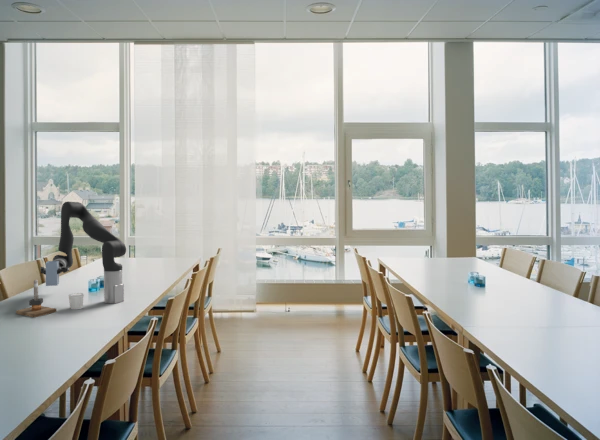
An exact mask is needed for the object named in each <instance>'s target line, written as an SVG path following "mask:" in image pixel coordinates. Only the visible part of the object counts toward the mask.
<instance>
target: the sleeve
mask: <svg viewBox="0 0 600 440" xmlns="http://www.w3.org/2000/svg"><path fill="white" fill-rule="evenodd" d="M45 268H46V275H45V287H49V286H53V287H54V286H58V285H59V284H60V274H57V270H58V269H59V261H53V260H47V261H46V262H45Z"/></svg>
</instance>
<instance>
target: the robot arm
mask: <svg viewBox="0 0 600 440" xmlns="http://www.w3.org/2000/svg"><path fill="white" fill-rule="evenodd" d="M60 210H61V211H60V238H59V243H58V249H57V250H58V251H59V252H61V253H64V254H65V255H62V254H61V255H60V254H56V255H54V256H53V258H52V261H59V269H58V270H57V274H59V275H60V274H62V273H64V274H65V273H67V272H69V271H70V268H72V266H73V264H74V261H73V260H74V258H73V246H74V245H73V244H74V235H73V231H72V229H71V227H70V219H71V218H72V219H74V218H77V219H79V220H80V221H81V223H82V230H83V232H84V233H85V234H86V235H87V236H89V238H91V239H92V240H95V241H97V242H100V243H102V246H101V259H102V260H101V261H102V266H103V267H102V268H103V298H104V300H103V302H104V303H105V304H118V303H122V302H124V301H125V288H124V287H125V284H124V283H123V264H121V263H118V262H115V258H121V257H123V256H125V254H126V252H127V248H126V244H125V243H124V242H123V241H122V240H121V239H119V238H118V237H117V236H115V235H114V234H113V233H112V232H111V231H109V230H108V229H107V228H106V227H105V226H104V225H103V223H101V222H100V221H99V220H98V219H96V218H95V217H94V216H93V215H92V214H91V212H90V211H89V210H88V209H87V207H86V206H85V205H84V204H83V203H81V202H78V201H65V202H63V204H62V205H61V209H60ZM40 274H43V275H45V276H46V267H44V266H40Z"/></svg>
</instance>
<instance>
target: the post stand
mask: <svg viewBox="0 0 600 440" xmlns="http://www.w3.org/2000/svg"><path fill="white" fill-rule="evenodd" d="M38 298H39V280H38V279H34V280H33V299H34V300H38ZM57 311H58V309H57V308H53V307H49V306H43V305H42V304H41V305H31V306H29V307H25V308H22V309H17V310H15V314H17V315H21V316H25V317H30V318H39V317H42V316H47V315H49V314H53V313H57Z"/></svg>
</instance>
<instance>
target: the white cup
mask: <svg viewBox="0 0 600 440" xmlns="http://www.w3.org/2000/svg"><path fill="white" fill-rule="evenodd" d="M84 296H85V294H84V293H83V292H77V293H76V292H75V293H70V294H69V295H68V301H69V309H71V310H79V309H82V308H83V307H84Z"/></svg>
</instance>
